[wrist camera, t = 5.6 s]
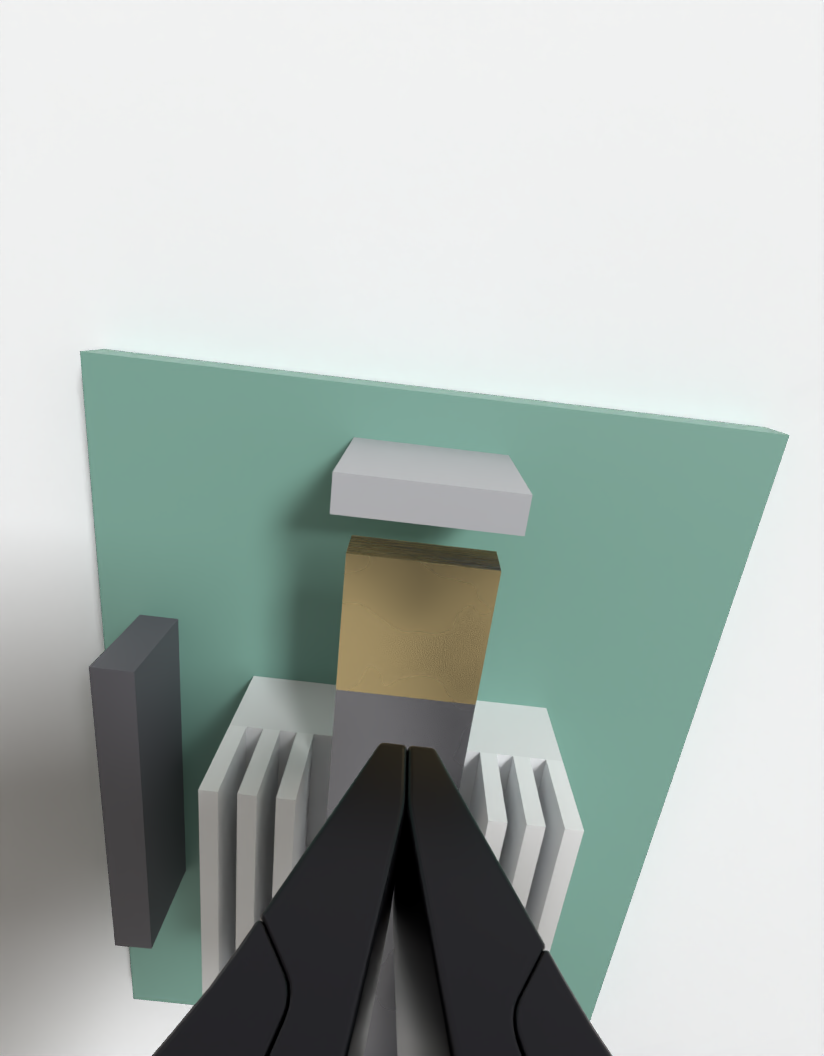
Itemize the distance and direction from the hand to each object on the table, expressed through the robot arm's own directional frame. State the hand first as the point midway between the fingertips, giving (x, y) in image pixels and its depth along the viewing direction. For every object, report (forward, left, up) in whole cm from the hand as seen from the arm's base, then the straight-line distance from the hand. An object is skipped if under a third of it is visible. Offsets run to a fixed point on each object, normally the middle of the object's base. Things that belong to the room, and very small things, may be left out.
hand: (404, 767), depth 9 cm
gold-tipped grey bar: (-6, 0, -4) cm, 7 cm away
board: (-6, 0, -7) cm, 9 cm away
